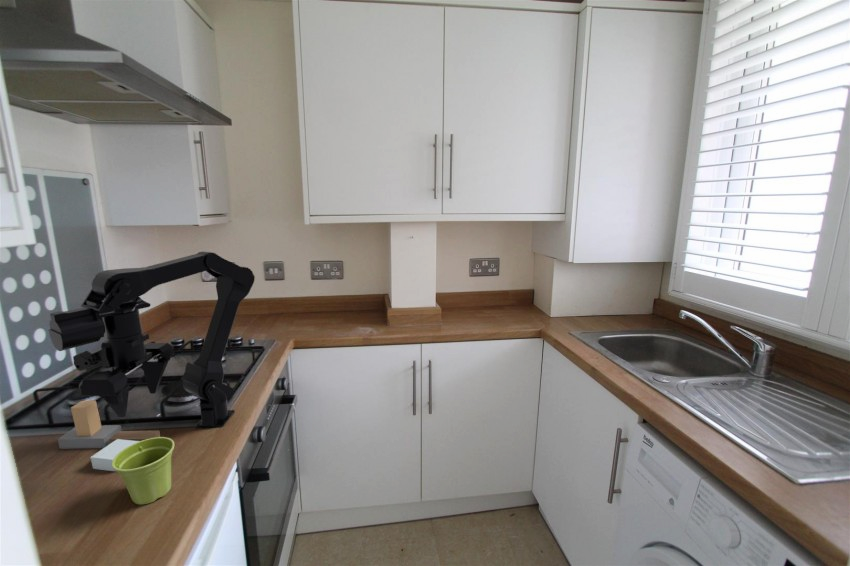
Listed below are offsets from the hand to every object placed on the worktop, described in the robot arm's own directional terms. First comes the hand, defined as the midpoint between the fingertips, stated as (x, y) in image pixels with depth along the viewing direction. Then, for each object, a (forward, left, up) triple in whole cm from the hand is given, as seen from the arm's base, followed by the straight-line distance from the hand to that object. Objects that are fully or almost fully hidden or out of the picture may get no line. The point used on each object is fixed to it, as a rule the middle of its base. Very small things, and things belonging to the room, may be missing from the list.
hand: (138, 404), depth 81 cm
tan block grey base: (-5, -16, -12) cm, 21 cm away
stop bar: (-4, -5, -12) cm, 13 cm away
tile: (+2, -5, -12) cm, 13 cm away
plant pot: (+11, +8, -12) cm, 18 cm away
